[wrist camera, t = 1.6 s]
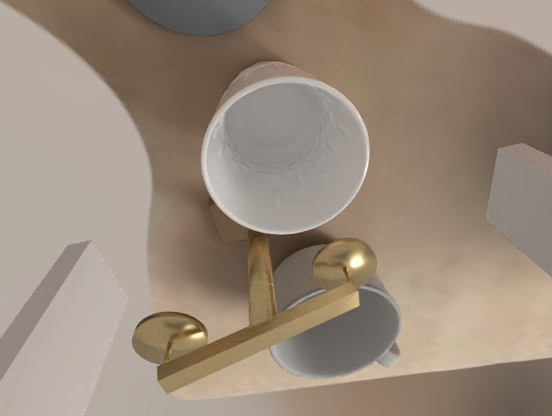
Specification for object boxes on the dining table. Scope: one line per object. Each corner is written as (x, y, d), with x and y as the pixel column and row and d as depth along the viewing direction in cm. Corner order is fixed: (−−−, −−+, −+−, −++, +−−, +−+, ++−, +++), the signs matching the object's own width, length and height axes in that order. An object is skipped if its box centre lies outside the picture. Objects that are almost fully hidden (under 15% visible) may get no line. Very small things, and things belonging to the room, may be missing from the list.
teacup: (240, 270, 31) (239, 342, 25) (330, 205, 28) (358, 267, 22) (322, 334, 38) (340, 406, 31) (404, 287, 35) (443, 354, 28)
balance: (336, 170, 26) (417, 307, 14) (341, 210, 29) (415, 359, 16) (165, 208, 27) (101, 373, 15) (182, 245, 29) (138, 416, 17)
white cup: (330, 147, 25) (374, 216, 17) (233, 170, 26) (229, 249, 17) (315, 37, 21) (364, 55, 13) (200, 66, 22) (173, 102, 13)
